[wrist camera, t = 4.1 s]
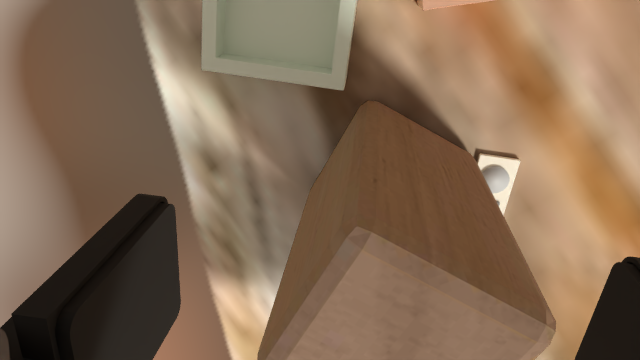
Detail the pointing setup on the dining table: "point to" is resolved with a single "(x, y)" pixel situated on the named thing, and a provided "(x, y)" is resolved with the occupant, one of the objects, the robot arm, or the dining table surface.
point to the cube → (444, 3)
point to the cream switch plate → (499, 176)
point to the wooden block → (404, 258)
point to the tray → (279, 40)
